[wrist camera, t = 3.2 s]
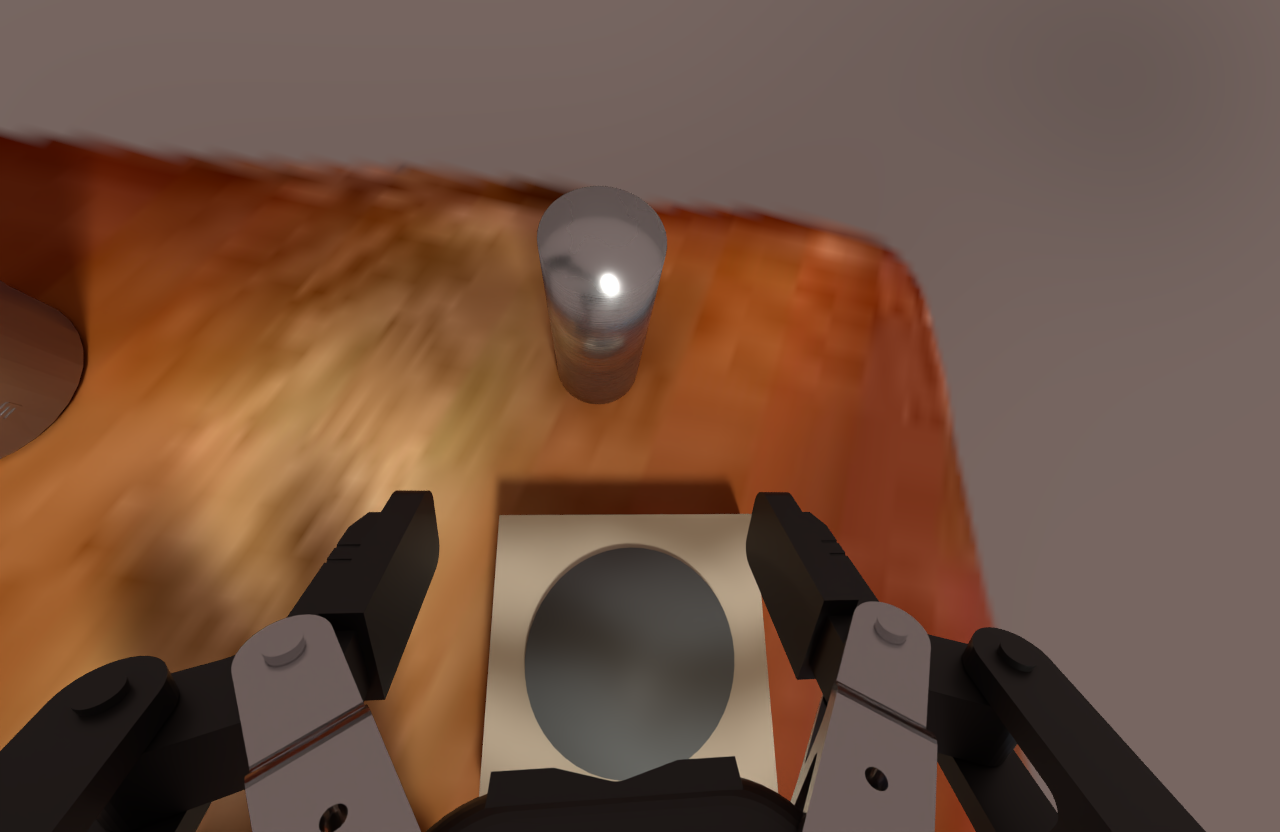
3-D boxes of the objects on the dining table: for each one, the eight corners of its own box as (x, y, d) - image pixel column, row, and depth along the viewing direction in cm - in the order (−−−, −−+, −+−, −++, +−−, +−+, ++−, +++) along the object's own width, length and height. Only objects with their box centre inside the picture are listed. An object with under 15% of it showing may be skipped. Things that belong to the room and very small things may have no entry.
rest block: (506, 519, 24) (498, 514, 22) (741, 517, 25) (755, 513, 23) (487, 809, 20) (475, 837, 18) (762, 791, 21) (781, 815, 19)
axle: (541, 361, 26) (510, 226, 16) (603, 317, 28) (611, 166, 17) (592, 419, 26) (593, 319, 15) (652, 372, 27) (693, 249, 16)
